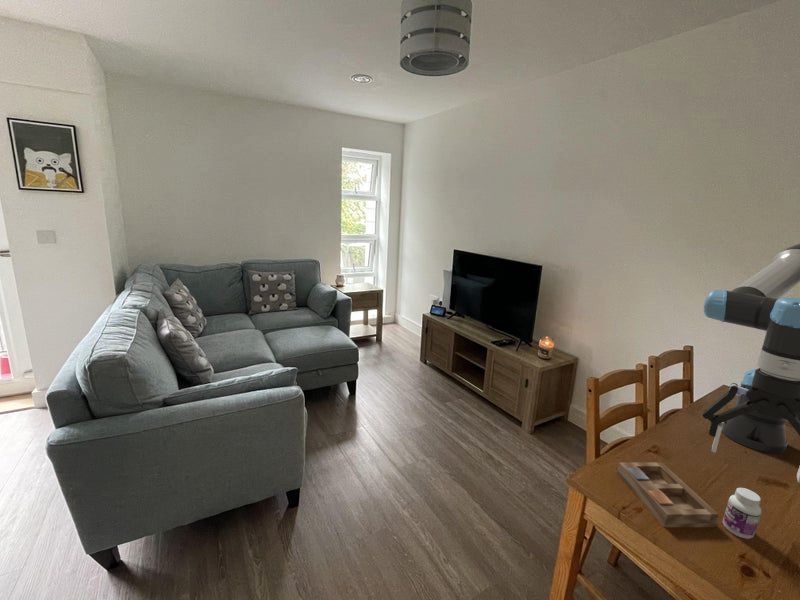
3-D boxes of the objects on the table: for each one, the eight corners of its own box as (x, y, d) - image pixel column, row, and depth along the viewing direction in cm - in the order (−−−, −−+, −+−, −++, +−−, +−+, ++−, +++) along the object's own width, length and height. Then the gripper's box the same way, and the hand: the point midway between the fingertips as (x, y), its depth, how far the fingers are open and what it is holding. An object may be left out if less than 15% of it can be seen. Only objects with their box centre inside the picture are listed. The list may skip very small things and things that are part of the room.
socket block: (659, 473, 100) (662, 461, 99) (715, 527, 83) (719, 512, 82) (617, 473, 100) (619, 461, 99) (664, 527, 83) (667, 512, 82)
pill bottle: (715, 520, 85) (725, 485, 83) (736, 519, 85) (746, 484, 83) (738, 540, 80) (749, 503, 77) (760, 539, 80) (772, 502, 78)
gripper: (701, 360, 80) (681, 445, 85) (884, 402, 63) (845, 504, 68) (704, 352, 85) (685, 432, 90) (874, 388, 69) (838, 484, 74)
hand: (754, 463), depth 79 cm, fingers open, 13 cm apart
